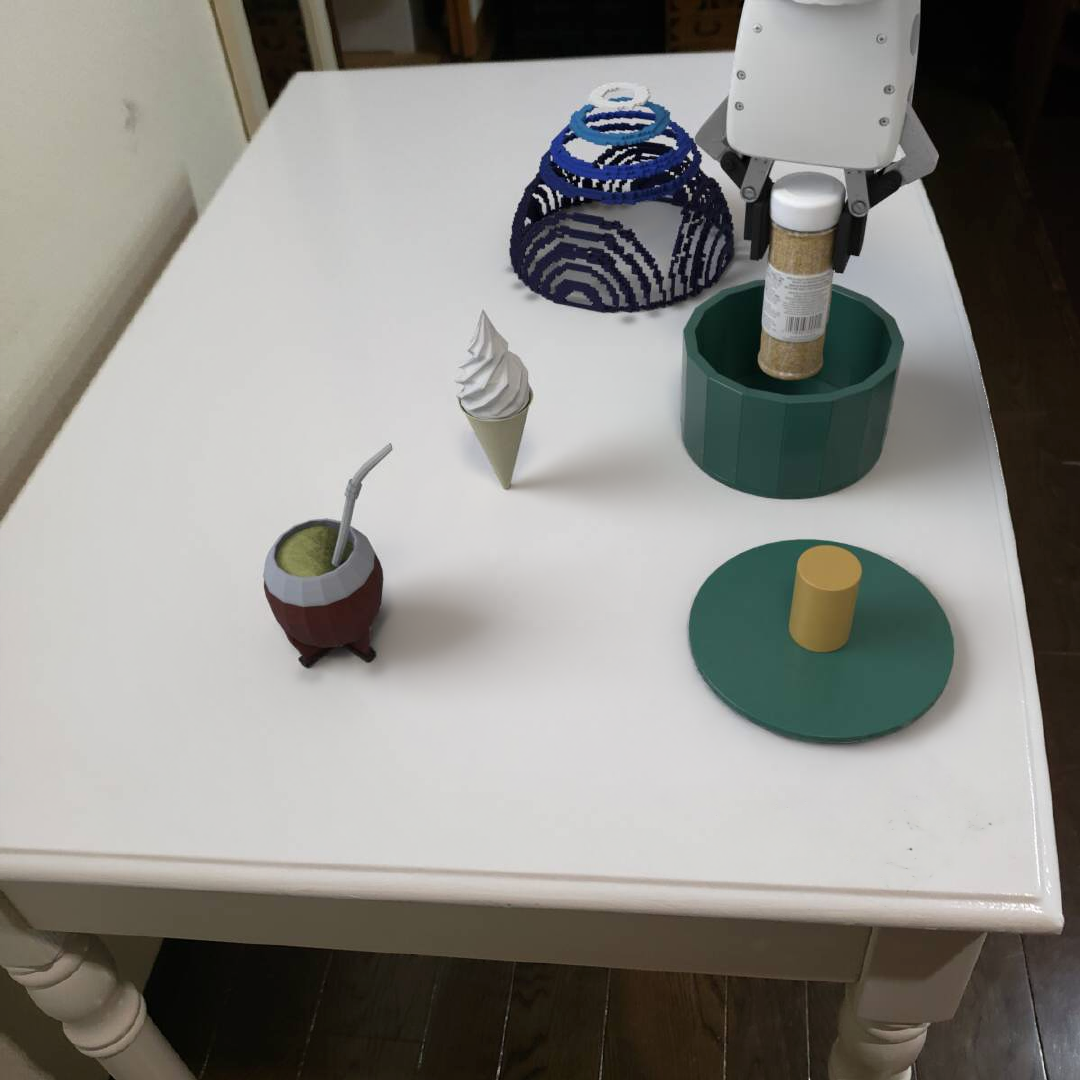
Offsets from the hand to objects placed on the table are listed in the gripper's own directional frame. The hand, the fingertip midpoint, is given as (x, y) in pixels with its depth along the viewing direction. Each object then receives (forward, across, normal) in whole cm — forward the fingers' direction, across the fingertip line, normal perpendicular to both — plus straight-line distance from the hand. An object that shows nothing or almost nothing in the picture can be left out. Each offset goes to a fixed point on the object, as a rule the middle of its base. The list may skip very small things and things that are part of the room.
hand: (801, 253), depth 72 cm
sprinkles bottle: (+9, 0, 0) cm, 9 cm away
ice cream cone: (+15, +17, +12) cm, 26 cm away
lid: (+14, -7, +19) cm, 25 cm away
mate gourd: (+15, +21, +28) cm, 38 cm away
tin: (+15, 0, 0) cm, 15 cm away
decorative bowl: (+15, +20, -21) cm, 33 cm away
